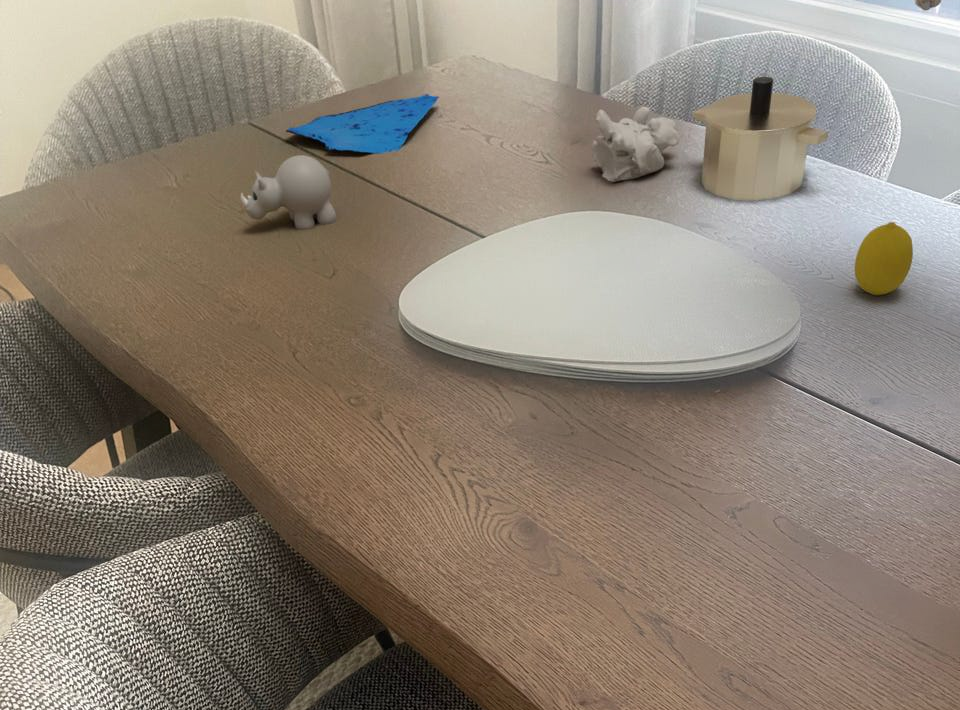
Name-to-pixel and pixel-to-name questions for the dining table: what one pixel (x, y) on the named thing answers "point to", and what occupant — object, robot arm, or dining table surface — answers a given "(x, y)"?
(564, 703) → the dining table surface
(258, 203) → the chubby cartoon animal
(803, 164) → the pot
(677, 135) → the figurine
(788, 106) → the pot lid
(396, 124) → the shard
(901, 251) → the lemon
